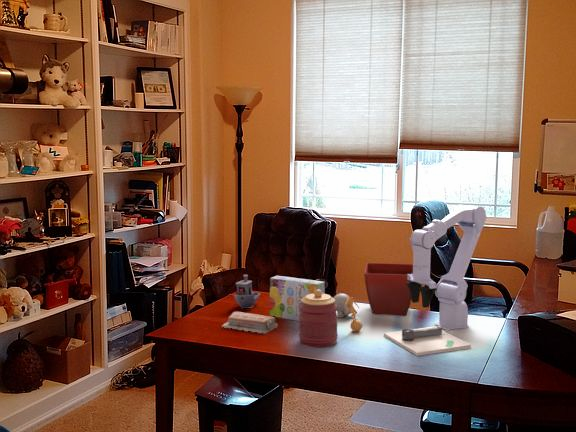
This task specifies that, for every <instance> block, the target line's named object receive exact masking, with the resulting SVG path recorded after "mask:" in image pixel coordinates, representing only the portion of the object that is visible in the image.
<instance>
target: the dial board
mask: <svg viewBox="0 0 576 432" xmlns="http://www.w3.org/2000/svg"><path fill="white" fill-rule="evenodd" d="M435 327H436V326H428V327H421V328H419V327H418V328H412V330H420V329H428V328H435ZM383 337H385V338H386V339H388V340H390V341H392V342H393V343H395V344H396V345H398V346H399V347H402V348H403V349H405V350H407V351H408V352H410V353H412V354H413V355H415V356H416V357H418V356H426V355H431V354H437V353H446V352H452V351H459V350H466V349H472V344H470V343H468V342H467V341H465V340H462V339H460V338H458V337H456V336H454V335H452V334H450V333H448V332H446V331H444V330H442V335H436V336H429V337H421V338H414V340H413V341H405V340H402V330H398V331H389V332H383Z"/></svg>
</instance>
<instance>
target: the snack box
mask: <svg viewBox="0 0 576 432" xmlns="http://www.w3.org/2000/svg"><path fill="white" fill-rule="evenodd" d="M325 285H326V284H325V281H321V280H313V279H306V278H297V277H291V276H284V275H282V276H281V275H275V276H272V277H270V278H269V316H271V317H273V316H275V318H279V319H283V320H284V319H285V320H291V321H297V322H299V315H300V310H299V308H298V307H299V305H300V304H302V302H301V299H302V298H304V297H305V296H306V295H308V294H314V292H315V290H318V289H319V290H321V291H322V294H326V293H325V292H326V291H325Z"/></svg>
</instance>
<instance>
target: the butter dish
mask: <svg viewBox="0 0 576 432" xmlns="http://www.w3.org/2000/svg"><path fill="white" fill-rule="evenodd" d="M227 320H228V321H227V322H225V323H223V324H221V328H223V327H224V328H225V329H231V328H232V330H236V329H237V330H238V331H242V330H244V331H243V332H248V331H251V332H250V333H255V332H257V334H262V333H263V335H266V334H268V333H270V332H271V331H273V330H274V328H275V329H277V328H278V327H279V325H278V322H276V317H273V316H270V315H263V314H257V313H250V312H242V311H233V312H232V313H231V314H230V315H229V316H228V318H227ZM224 328H223V329H224ZM269 331H270V332H269Z"/></svg>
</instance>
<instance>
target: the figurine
mask: <svg viewBox="0 0 576 432" xmlns="http://www.w3.org/2000/svg"><path fill="white" fill-rule="evenodd" d="M346 305H348V306H349V311H350V312H351V314H350V318H351V319H352V320H351V322H350V329H351V330H352V331H353V332H356V333H357V332H360V331H361V329H362V327H363V324H362V322H361V321H360V320H358V318H356V315H357V314H358V311H357V310H356V309H354V308H355V307H354V305H355V306H357V308H358V309H360V306H359V305H358V304H357V302H356V301H355V299H354V297H353V296H351V297H350V298H347V299H346V303H345V309H346V314H347V313H348V311H347V308H346Z"/></svg>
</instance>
